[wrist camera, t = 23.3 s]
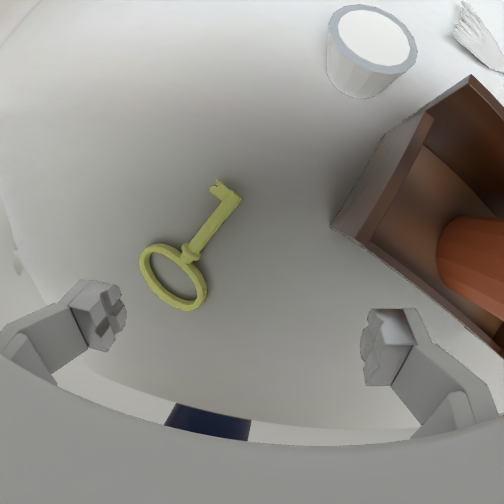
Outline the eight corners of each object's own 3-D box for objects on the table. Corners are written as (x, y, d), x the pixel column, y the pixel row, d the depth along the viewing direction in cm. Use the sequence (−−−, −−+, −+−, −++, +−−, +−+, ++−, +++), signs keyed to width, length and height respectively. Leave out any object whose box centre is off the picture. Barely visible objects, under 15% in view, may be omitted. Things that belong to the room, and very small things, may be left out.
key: (249, 191, 24) (245, 189, 22) (199, 315, 26) (193, 324, 24) (175, 163, 24) (166, 160, 22) (136, 284, 26) (125, 289, 24)
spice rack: (467, 329, 23) (542, 394, 9) (329, 227, 23) (384, 254, 10) (509, 253, 21) (597, 282, 7) (384, 133, 21) (471, 73, 8)
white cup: (330, 108, 22) (346, 75, 15) (311, 46, 21) (316, 3, 14) (399, 103, 21) (431, 75, 14) (376, 44, 20) (397, 6, 13)
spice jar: (465, 303, 18) (541, 353, 8) (422, 266, 18) (507, 311, 8) (497, 242, 17) (580, 265, 7) (457, 199, 17) (551, 202, 7)
